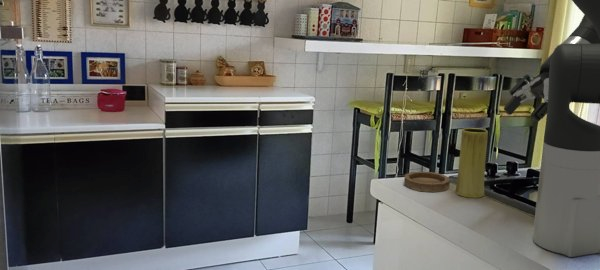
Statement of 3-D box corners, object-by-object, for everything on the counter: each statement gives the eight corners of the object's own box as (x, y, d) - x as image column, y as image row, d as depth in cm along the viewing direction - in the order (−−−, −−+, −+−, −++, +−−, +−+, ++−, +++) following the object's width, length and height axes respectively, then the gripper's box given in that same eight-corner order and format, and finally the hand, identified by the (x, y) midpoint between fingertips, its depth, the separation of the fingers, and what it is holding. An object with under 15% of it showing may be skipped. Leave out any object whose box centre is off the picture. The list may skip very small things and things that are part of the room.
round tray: (457, 189, 112) (458, 182, 112) (418, 193, 109) (418, 186, 109) (433, 177, 121) (434, 170, 121) (396, 180, 118) (396, 173, 118)
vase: (487, 192, 110) (492, 129, 107) (480, 200, 105) (486, 134, 102) (459, 187, 114) (464, 126, 111) (451, 195, 108) (456, 130, 105)
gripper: (535, 48, 115) (489, 99, 114) (586, 51, 102) (535, 108, 101) (551, 71, 118) (506, 121, 117) (603, 76, 105) (553, 133, 104)
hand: (520, 115), depth 109 cm, fingers open, 8 cm apart
